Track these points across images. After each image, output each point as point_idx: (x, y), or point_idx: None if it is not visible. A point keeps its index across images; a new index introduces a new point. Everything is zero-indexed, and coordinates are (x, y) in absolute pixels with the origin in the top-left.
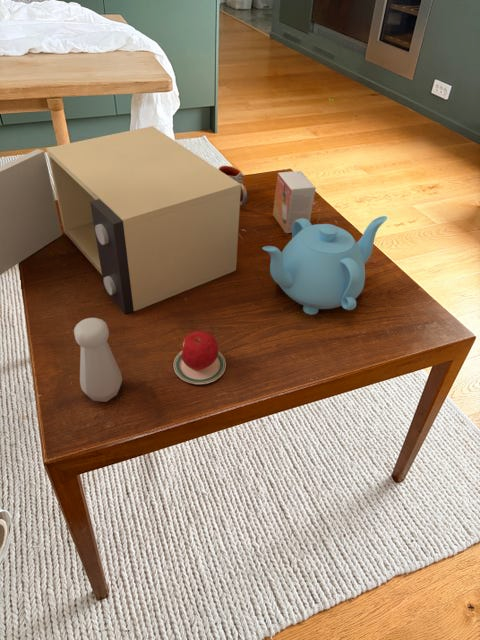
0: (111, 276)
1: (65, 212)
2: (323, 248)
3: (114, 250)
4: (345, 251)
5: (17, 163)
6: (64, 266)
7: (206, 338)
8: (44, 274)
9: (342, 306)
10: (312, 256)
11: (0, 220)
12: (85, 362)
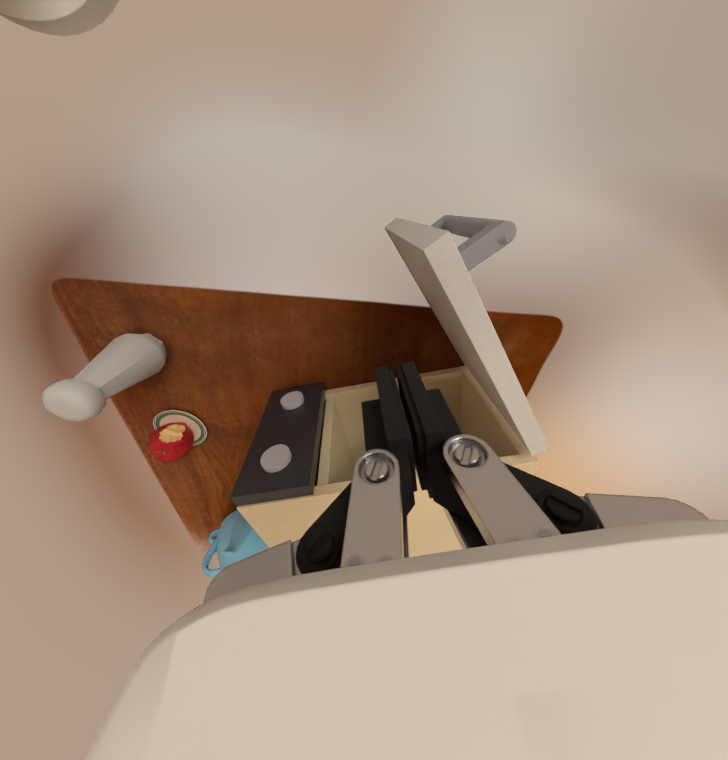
0: (288, 411)
1: (472, 389)
2: None
3: (254, 454)
4: None
5: (512, 416)
6: (391, 351)
7: (161, 459)
8: (384, 326)
9: (218, 530)
10: (229, 560)
11: (446, 320)
12: (86, 366)
